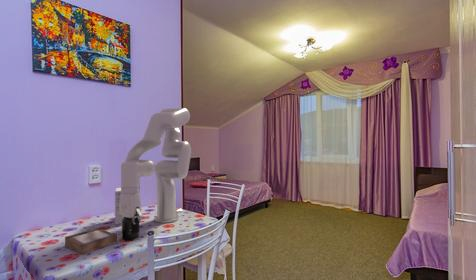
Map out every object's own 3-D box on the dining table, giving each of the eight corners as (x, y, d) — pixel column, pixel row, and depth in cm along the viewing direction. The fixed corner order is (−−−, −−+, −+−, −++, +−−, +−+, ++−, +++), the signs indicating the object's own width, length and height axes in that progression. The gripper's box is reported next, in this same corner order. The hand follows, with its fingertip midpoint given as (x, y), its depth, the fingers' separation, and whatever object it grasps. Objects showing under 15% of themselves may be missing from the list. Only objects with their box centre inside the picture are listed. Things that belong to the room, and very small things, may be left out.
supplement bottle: (132, 241, 108) (132, 213, 108) (118, 240, 110) (118, 212, 110) (142, 235, 115) (142, 208, 115) (128, 234, 116) (128, 208, 116)
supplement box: (116, 219, 139) (116, 187, 139) (134, 217, 142) (134, 186, 142) (114, 224, 130) (114, 191, 130) (134, 222, 133) (134, 189, 133)
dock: (100, 235, 116) (100, 227, 116) (117, 242, 108) (117, 233, 108) (65, 245, 104) (65, 236, 104) (81, 254, 96) (81, 245, 96)
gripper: (111, 189, 114) (111, 229, 114) (134, 194, 104) (134, 238, 104) (127, 186, 120) (127, 224, 120) (150, 191, 110) (150, 232, 110)
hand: (130, 230), depth 112 cm, fingers closed on supplement bottle, 6 cm apart
